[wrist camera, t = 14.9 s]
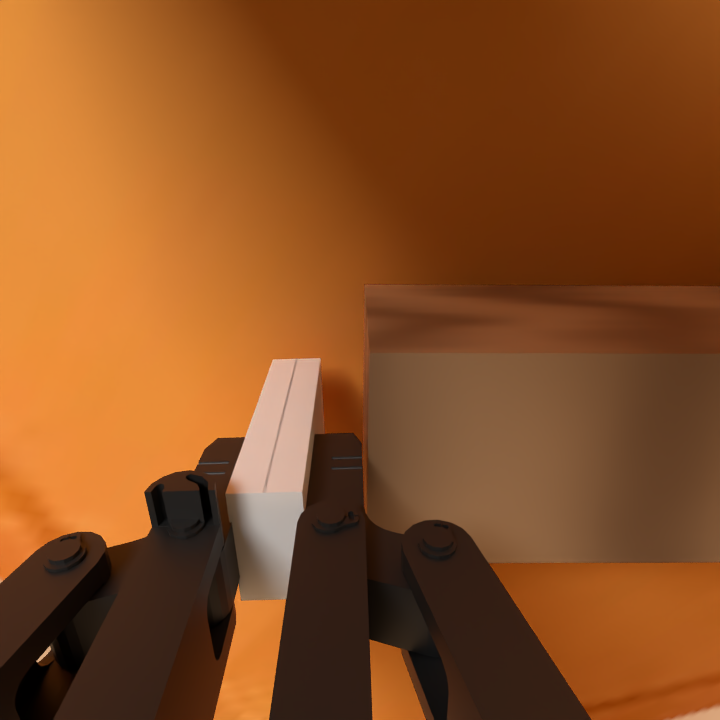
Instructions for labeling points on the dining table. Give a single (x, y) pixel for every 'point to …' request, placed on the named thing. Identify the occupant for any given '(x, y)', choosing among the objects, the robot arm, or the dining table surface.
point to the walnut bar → (546, 418)
